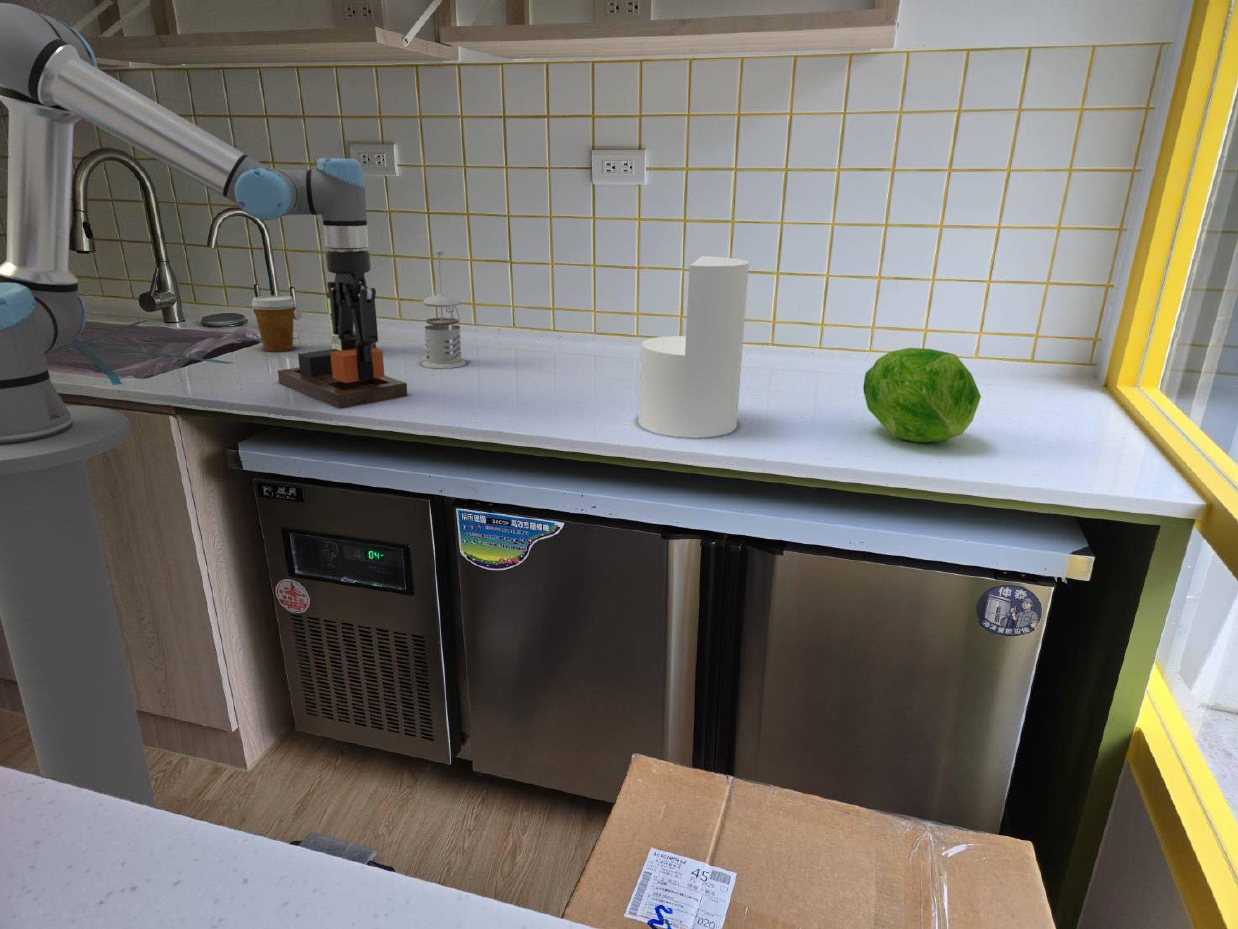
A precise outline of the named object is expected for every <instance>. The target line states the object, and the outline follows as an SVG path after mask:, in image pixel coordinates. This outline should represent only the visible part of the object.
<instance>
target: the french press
mask: <svg viewBox="0 0 1238 929" xmlns="http://www.w3.org/2000/svg"><path fill="white" fill-rule="evenodd" d="M434 255H435V256H438V271H439V272H438V274H439V292H440V293H439V294H437V295H431V296H429V297H426V298H425V299H424V300H423V301H422V304H423V305H424V306H426V307H432V308H440V313H441V314H440V315H441V317H431V318H428V319H426V320H425V323H426V324H428V325H426V326H424V338H425V339H424V342H425V358H426V359H425V360H423V362H422V363H421V365H422V367H426V368H432V369H454V368H461V367H464V366H465V365H467V362H466V361H465V360H464V359H463V358H462V352H461V350H462V346H461V343H462V341H461V340H460V339H461V335H460V333H461V326H460V324H461V323H460V322H461V321H460V313H459V310H458V309H457V308H458V307H457V306H460V304H461V301H460V300H458V299H457V298H455V297H453V296H451V295H448V294H443V293H442V279H441V277H442V276H441V275H442V274H441V257H440V256H444V251H443V249H441V248H437V249H436V250H434ZM451 307H452V309H451ZM443 308H445V311H446V313H448V314H449V313H450V316H451V317H443ZM448 310H449V311H448ZM454 310H456V314H457V318H455V317H454V316H453V313H454ZM457 323H458V324H457ZM450 326H451V328H450ZM450 341H452V342H450Z"/></svg>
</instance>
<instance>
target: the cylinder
mask: <svg viewBox="0 0 1238 929" xmlns="http://www.w3.org/2000/svg"><path fill="white" fill-rule="evenodd" d="M749 265H750V262H749V261H747V260H745V259H739V258H733V257H732V258H731V257H723V256H710V255H702V256H700V257H698V258H697V259H696V260H695V261H694V262H692V263H691V264H690V265H689V271H688V288H687V289H688V290H687V306H686V307H687V310H686V312H687V313H686V329H685V335H670V336H669V335H667V336H658V337H651V338H648V339H644V340H643V341H642V342H641V343H640V370H639V398H638V400H639V401H638V402H639V403H638V424H639V425H640V427H641V428H643V429H644V430H647V431H649V432H652V433H655V434H658V435H662V436H663V435H664V436H667V437H675V438H688V439H703V438H704V439H705V438H714V437H720V436H724V435H729V434H730V433H732V432H734V431H735V430H736V429H737V426H738V425H737V424H738V414H739V399H740V386H741V372H742V358H743V345H744V335H745V334H744V333H745V321H746V307H747V294H748V280H749V270H750V268H749V267H750V266H749Z"/></svg>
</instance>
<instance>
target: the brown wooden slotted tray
mask: <svg viewBox="0 0 1238 929" xmlns="http://www.w3.org/2000/svg"><path fill="white" fill-rule="evenodd" d="M277 376H278V383H279V384H281V385H283V386H286V387H288V388H290V389H293V390H294V391H295V390H296V391H298V392H300V393H302V394H304V395H307V396H310V397H312V398H315V399H317V400H318V401H321V402H324V403H327V404H329V405H330V406H331V405H332V406H334V407H336V408H337V409H343V408H348V407H352V406H353V407H354V406H358V405H364V404H365V405H366V404H370V403H376V402H381V401H385V400H390V399H391V400H392V399H398V398H401V397H406V396H407V397H408V384H407V382H405V381H402V380H399V379H396V378H393V377H391V376H387V375H385V376H384V377H379V378H373V379H367V380H362V381H356V382H350V383H344V382H341V381H339V380H336V379H333V374H326V375H319V376H313V377H307V376H305V375H302V374H300V367H293V368H285V369H278V370H277Z"/></svg>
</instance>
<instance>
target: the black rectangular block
mask: <svg viewBox="0 0 1238 929" xmlns="http://www.w3.org/2000/svg"><path fill="white" fill-rule="evenodd" d="M335 351H341V350H338V349H332V348H331V349H330V348H329V349H324V350H317V351H308V352H299V353H297V357H298V358H297V359H298V366H299V367H300V374H302V375H305V376H307V377H313V376H319V375H326V374H332V364H331V354H330V352H335ZM299 367H298V368H299Z"/></svg>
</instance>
